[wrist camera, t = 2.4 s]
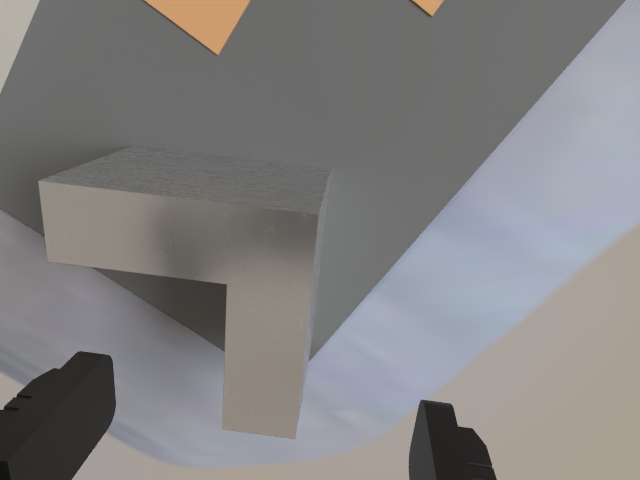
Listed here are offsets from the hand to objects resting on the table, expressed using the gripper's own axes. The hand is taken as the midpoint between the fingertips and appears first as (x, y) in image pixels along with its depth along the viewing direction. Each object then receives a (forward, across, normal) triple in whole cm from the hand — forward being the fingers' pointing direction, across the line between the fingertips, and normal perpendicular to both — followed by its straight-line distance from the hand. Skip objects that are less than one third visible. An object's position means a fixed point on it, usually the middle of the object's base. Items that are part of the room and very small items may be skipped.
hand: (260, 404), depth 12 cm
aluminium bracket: (+9, +3, 0) cm, 9 cm away
